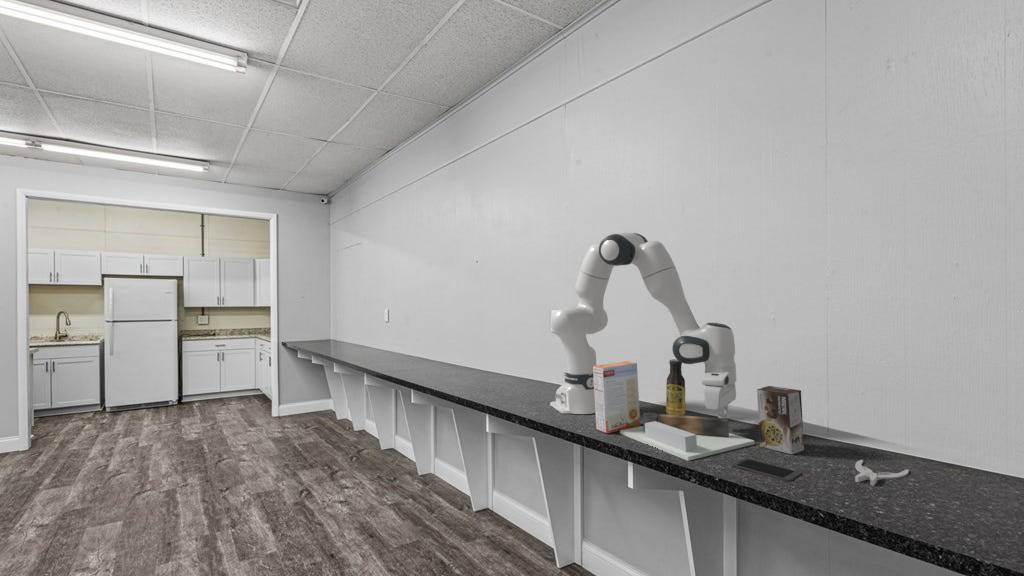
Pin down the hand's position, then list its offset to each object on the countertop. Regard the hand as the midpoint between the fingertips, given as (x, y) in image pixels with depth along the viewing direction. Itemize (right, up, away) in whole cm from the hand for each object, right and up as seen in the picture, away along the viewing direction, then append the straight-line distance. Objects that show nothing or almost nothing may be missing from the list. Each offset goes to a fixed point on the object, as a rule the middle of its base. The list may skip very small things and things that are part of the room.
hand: (722, 419), depth 150 cm
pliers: (+19, -3, -38) cm, 43 cm away
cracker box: (-31, -5, +6) cm, 32 cm away
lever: (-13, -2, -5) cm, 14 cm away
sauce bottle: (-9, -4, +16) cm, 18 cm away
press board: (-14, -4, -7) cm, 16 cm away
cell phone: (-4, -4, -33) cm, 33 cm away
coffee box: (+8, -3, -18) cm, 20 cm away
